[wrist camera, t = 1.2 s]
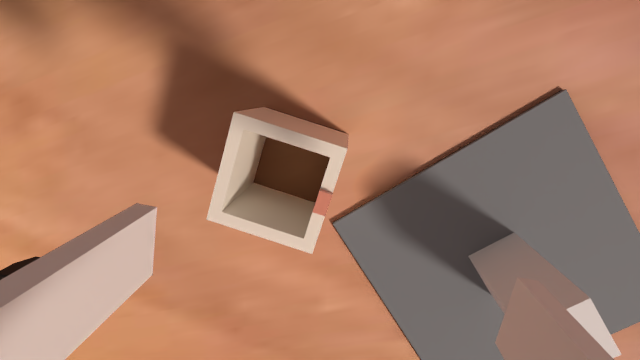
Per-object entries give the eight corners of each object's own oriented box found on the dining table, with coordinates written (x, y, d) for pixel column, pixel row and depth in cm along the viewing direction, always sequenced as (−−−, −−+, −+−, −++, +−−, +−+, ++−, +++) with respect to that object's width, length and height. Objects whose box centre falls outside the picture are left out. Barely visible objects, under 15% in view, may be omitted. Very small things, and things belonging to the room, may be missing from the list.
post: (332, 222, 32) (324, 285, 21) (563, 89, 28) (687, 87, 18) (449, 401, 35) (491, 533, 24) (672, 302, 31) (833, 408, 21)
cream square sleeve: (241, 188, 32) (203, 222, 24) (264, 106, 30) (231, 112, 22) (321, 214, 32) (311, 257, 24) (348, 134, 30) (347, 150, 22)
